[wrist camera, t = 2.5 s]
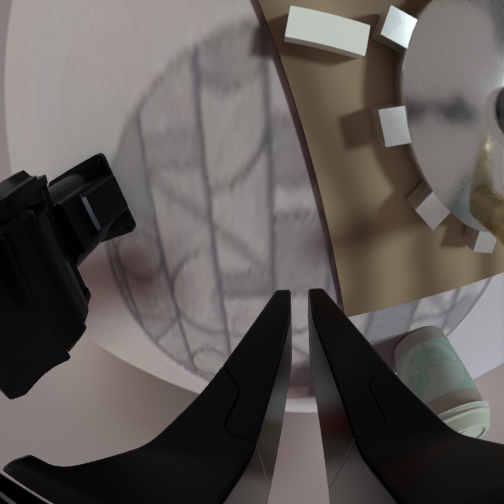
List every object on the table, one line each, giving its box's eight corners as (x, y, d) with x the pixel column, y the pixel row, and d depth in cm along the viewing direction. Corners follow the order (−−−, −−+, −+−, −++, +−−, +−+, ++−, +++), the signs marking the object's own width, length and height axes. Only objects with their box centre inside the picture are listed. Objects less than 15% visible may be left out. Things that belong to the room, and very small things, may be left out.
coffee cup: (459, 305, 23) (509, 406, 13) (448, 358, 27) (478, 446, 17) (380, 328, 25) (409, 445, 15) (381, 378, 29) (398, 473, 19)
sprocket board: (344, 314, 24) (345, 317, 24) (231, -59, 10) (229, -61, 10) (573, 240, 17) (575, 242, 17) (544, -31, 3) (547, -32, 3)
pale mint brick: (284, 41, 14) (284, 36, 12) (289, 13, 13) (290, 5, 11) (357, 58, 14) (365, 56, 13) (362, 30, 13) (370, 25, 11)
